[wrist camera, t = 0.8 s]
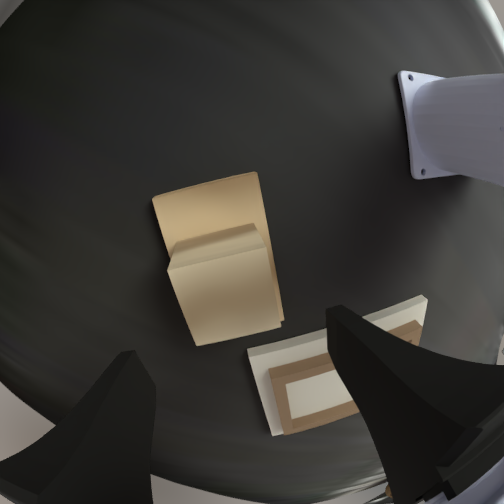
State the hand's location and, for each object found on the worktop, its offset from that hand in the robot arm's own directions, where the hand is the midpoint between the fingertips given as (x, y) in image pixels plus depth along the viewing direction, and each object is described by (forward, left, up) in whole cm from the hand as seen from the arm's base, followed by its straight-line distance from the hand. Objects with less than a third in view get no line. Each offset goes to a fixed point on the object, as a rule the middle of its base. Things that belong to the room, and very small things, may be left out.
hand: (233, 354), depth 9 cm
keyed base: (-8, +14, -8) cm, 18 cm away
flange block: (0, 0, -9) cm, 9 cm away
